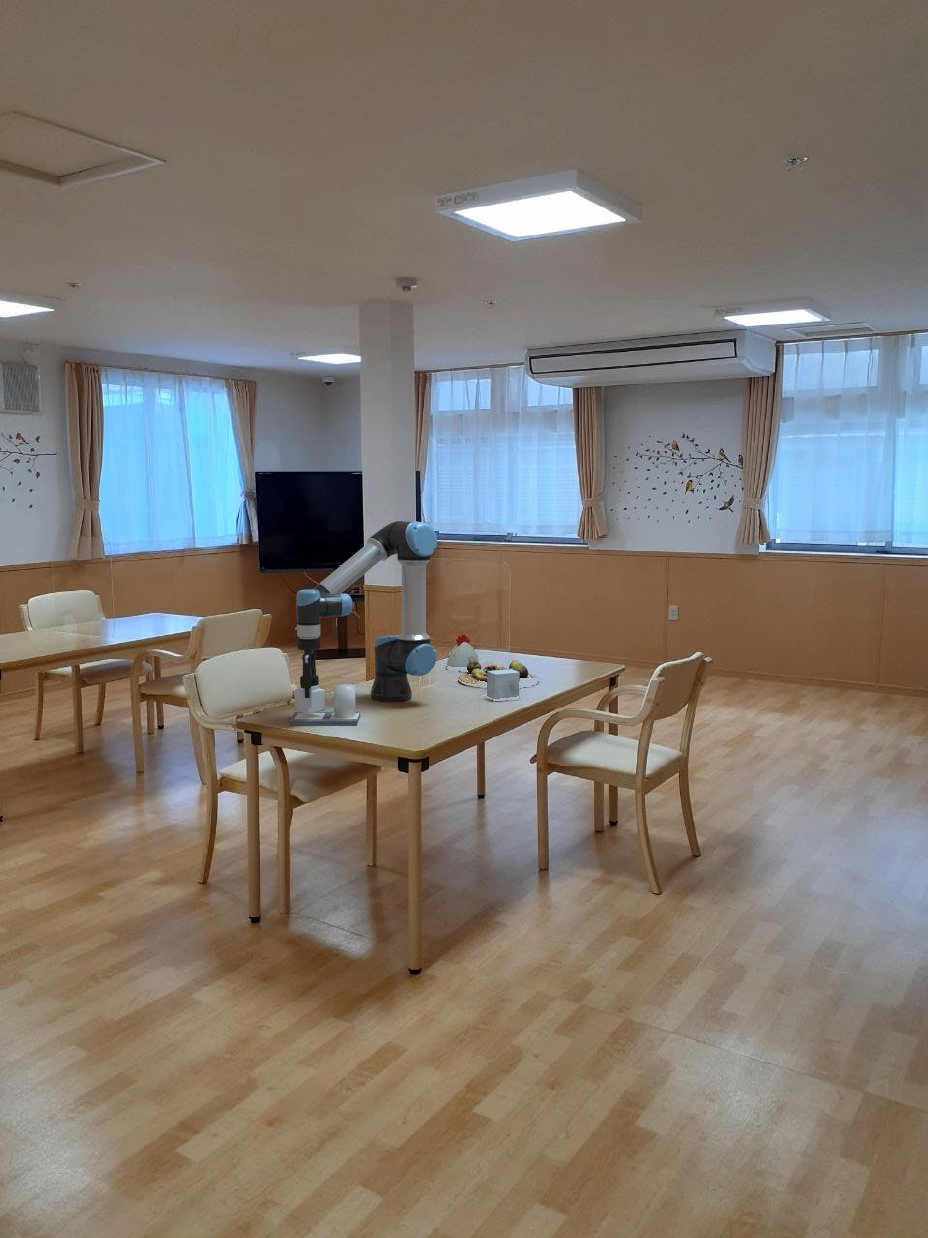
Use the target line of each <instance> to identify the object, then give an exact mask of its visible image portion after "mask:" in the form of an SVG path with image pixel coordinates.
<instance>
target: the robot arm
mask: <svg viewBox="0 0 928 1238" xmlns="http://www.w3.org/2000/svg"><path fill="white" fill-rule="evenodd" d="M437 545H438V537H437V534H436V532H435V530H434V528H433V527H432V526H431V525H430V524H427V523H425V522H421V521H406V520H405V521H403V520H397V521H393V522H390V523H389V524H386V525H385V526H383V527H382V528H380V529H379V530H378V531H377V532H375V533H374V534H373V535H371V536H370V537H369V538H367V540H366V544H365V545H364V546H363V547H361V548H360V549H359V550H358V551H356V552H355V554H353V555H352V556H350V558H348V559H347V560H346V561H344V562H343V563H342V564H341V565H340V566H339V567H338V568H336V569H335V570H333V572H332V573H330V574H329V575H328V576H327V577H326V578H324V579H323V580H322V581H321V582H319V583H318V584H317V585H316V586H314V587H313V588H312V589H301V590H298V591H297V592H296V602H295V607H296V627H295V628H294V630H295V631H296V636H297V637H298V638H297V639H296V648H297V650H300V651H304V654H303V655H302V658H301V659H302V675H303V681H302V686H301V688H303V703H304V708H312V688H311V679H312V674H315V675H317V667H316V666H317V663H316V662H317V661H316V658H317V654H316V651H319V650H320V649H321V638H320V636H321V619H325V618H334V617H335V618H336V617H337V618H338V617H340V618H341V617H345V616H348V615H350V614H351V613H352V611H353V600H352V597H351V596H350V595H349V594H348V593H344V592H345V591H346V590H347V589H349V588H350V587H351V586H352V585H353V584H354V583H356V581H358V580H359V579H360V578H361V577H363V576H364V575H365V574H366V573H367V572H369V571H370V570H371V569H372V568H373V567H374V566H376V565H377V564H378V563H379V562H381V561H386V560H388V558H390V557H392V556H394V555H397V559H396V560H397V562H398V563H399V564H400V565H401V633H400V634H397V635H396V634H393V635H385V636H384V635H383V636H378V637H376V638H375V641H374V680H373V684H372V686H371V689H370V699H371V700H373V701H378V702H389V703H390V702H402V701H407V700H412V697H413V691H412V689H411V685H410V681H409V680H408V675H410V676H412V677H422V676H426V675H428V674H429V673H430V672H432V670H433V669H434V668H435V665H436V663H437V652H436V649H435V648H434V647H433V646H432V645H431V636H430V635H428V633H427V565H428V564H429V562H431V555H432V554H433V553H434V552H435V550H436V549H437ZM305 683H308V684H305ZM301 688H300V689H301Z"/></svg>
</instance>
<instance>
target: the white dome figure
mask: <svg viewBox="0 0 928 1238" xmlns="http://www.w3.org/2000/svg"><path fill="white" fill-rule="evenodd" d="M455 640H456V645H455V646H454V647H452V650H451V651H449V653H448V655H447V658H448V659H447V663H446V666H447V665H448V666H451V667H467V665H468V664H469V663H470V661H472V660H475V661H477V662H479V663H480V661H479V655H478V654H477V651H475V649H474V647H473V646H472V645H471V644H470V642H471V641H470V640H471V639H470V638H469V637H468V636H466V634H461V635H458V636H457V638H456V639H455Z"/></svg>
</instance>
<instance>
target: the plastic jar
mask: <svg viewBox="0 0 928 1238" xmlns="http://www.w3.org/2000/svg"><path fill="white" fill-rule="evenodd" d="M333 712H334V717H336V718H352V717H355V716H356V715H355V712H356V685H355V684H353V683H352V684H351V683H340V684H334V686H333Z"/></svg>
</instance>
